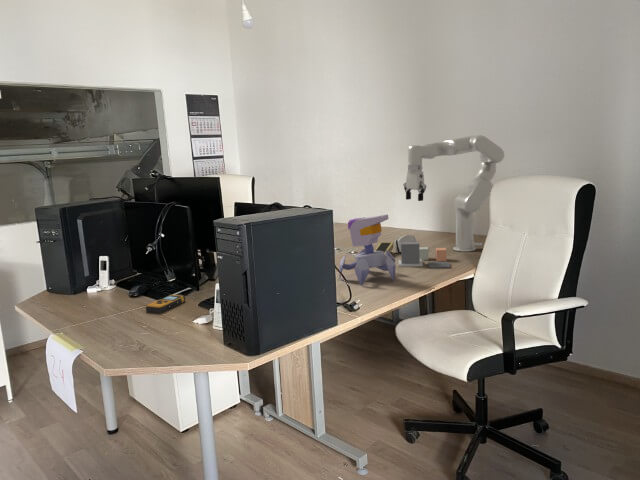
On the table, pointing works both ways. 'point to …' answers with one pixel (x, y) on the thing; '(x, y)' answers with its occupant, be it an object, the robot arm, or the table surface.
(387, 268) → the robotic device
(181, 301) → the electronic device
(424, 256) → the grey block
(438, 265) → the mat
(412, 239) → the white curved block
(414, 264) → the mounted unit
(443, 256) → the terracotta block
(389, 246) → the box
